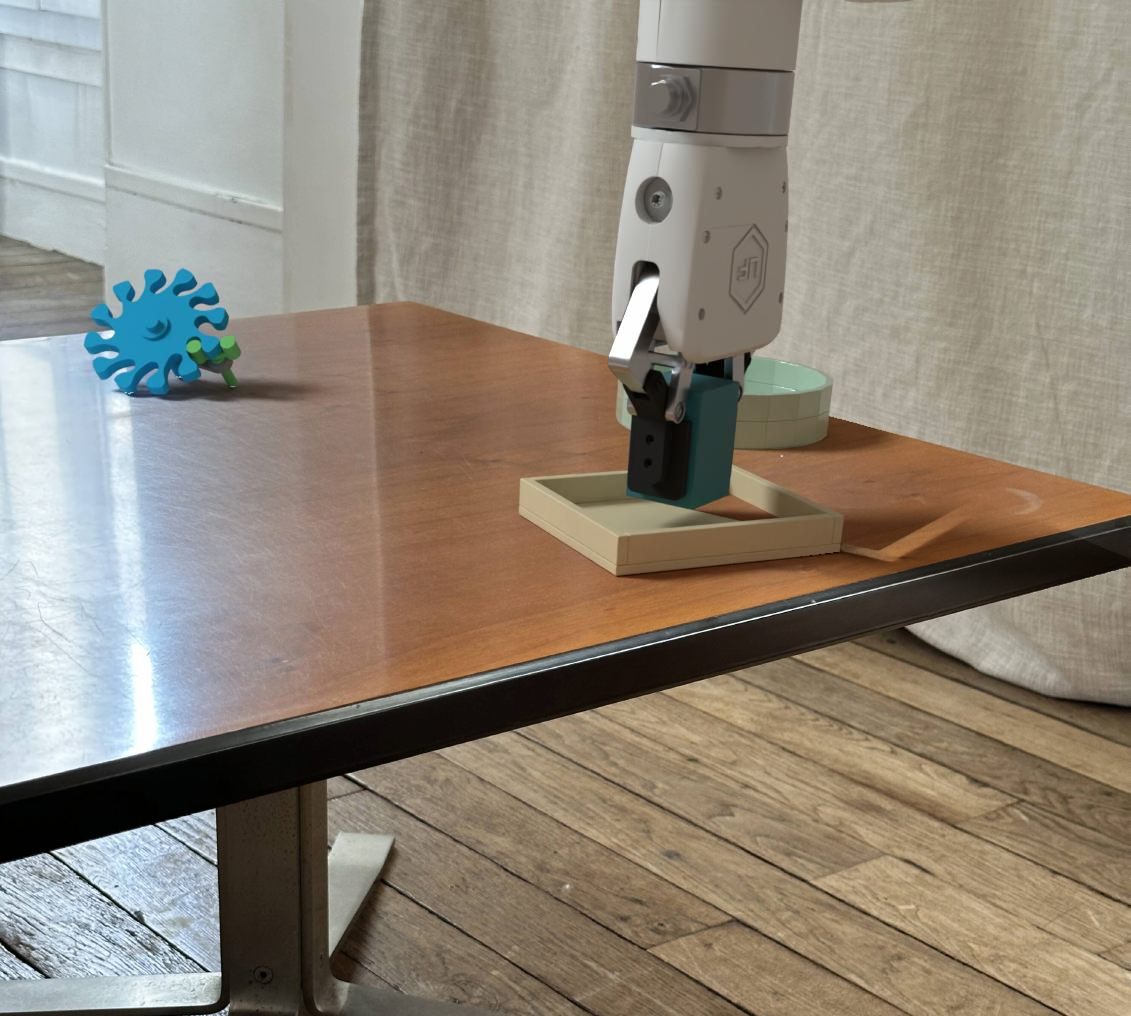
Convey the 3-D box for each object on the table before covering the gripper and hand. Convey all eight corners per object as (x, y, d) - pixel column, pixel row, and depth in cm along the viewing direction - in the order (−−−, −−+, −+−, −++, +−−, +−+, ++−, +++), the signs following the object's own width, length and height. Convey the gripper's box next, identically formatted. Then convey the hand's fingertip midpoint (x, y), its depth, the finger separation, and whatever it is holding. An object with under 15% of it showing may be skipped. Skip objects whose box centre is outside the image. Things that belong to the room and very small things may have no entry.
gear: (53, 362, 108) (123, 246, 111) (90, 411, 113) (155, 299, 116) (193, 405, 105) (260, 285, 108) (223, 453, 111) (287, 338, 113)
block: (663, 481, 86) (673, 369, 84) (729, 495, 84) (740, 381, 82) (625, 495, 83) (633, 379, 81) (692, 510, 81) (702, 392, 79)
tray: (726, 496, 92) (729, 462, 91) (840, 552, 83) (844, 515, 82) (518, 514, 86) (519, 477, 86) (615, 576, 77) (618, 536, 76)
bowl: (752, 405, 116) (758, 348, 114) (868, 450, 104) (876, 389, 103) (580, 414, 110) (583, 355, 108) (682, 464, 99) (688, 399, 97)
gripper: (693, 116, 68) (659, 534, 75) (856, 114, 81) (813, 471, 88) (547, 103, 71) (528, 503, 79) (725, 103, 84) (695, 447, 92)
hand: (679, 482), depth 84 cm, fingers closed on block, 4 cm apart
